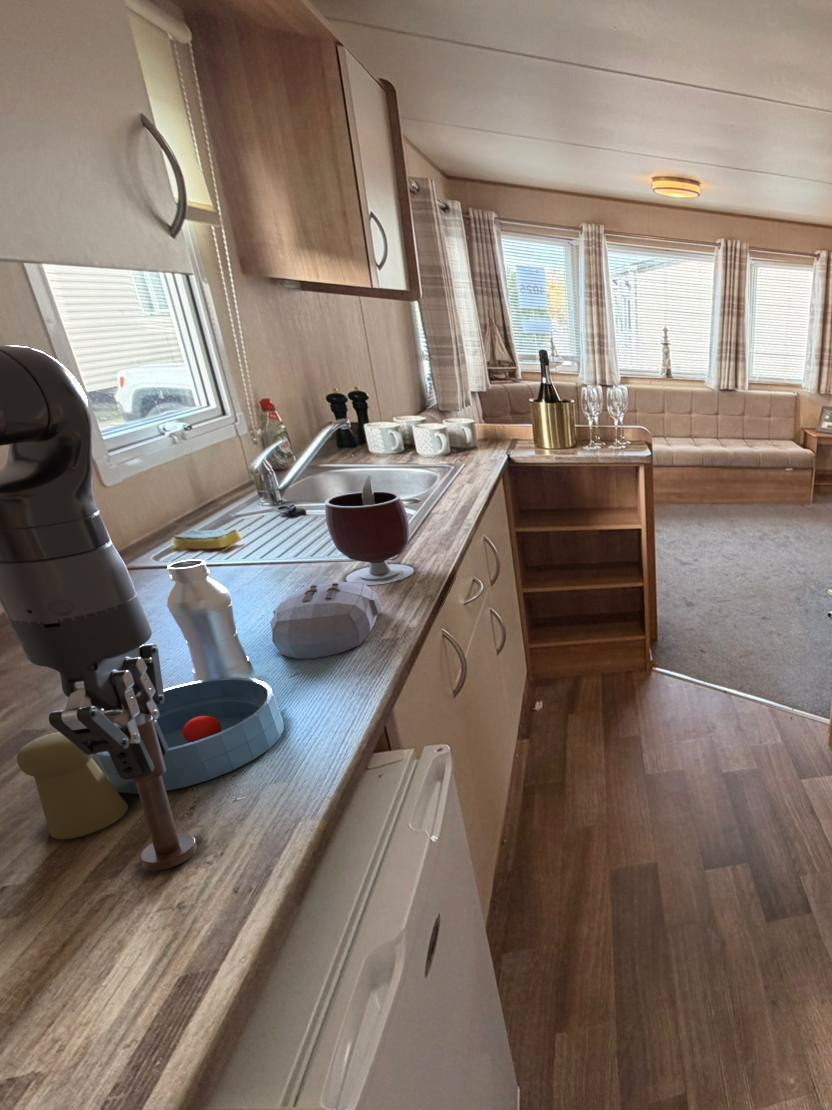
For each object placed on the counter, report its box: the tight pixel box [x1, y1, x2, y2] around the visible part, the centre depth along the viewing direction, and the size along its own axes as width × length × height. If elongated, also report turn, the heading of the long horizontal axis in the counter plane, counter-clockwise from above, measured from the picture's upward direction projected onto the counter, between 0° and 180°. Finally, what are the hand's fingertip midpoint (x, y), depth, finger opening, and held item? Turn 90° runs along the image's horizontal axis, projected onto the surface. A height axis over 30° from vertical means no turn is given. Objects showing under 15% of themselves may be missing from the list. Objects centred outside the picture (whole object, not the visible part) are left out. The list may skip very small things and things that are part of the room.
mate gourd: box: [324, 475, 415, 586], centre depth 132 cm, size 16×14×20 cm
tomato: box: [183, 716, 221, 743], centre depth 81 cm, size 4×4×4 cm
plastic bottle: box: [166, 559, 257, 682], centre depth 89 cm, size 6×7×20 cm
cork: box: [16, 731, 129, 840], centre depth 67 cm, size 6×6×11 cm
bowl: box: [92, 677, 285, 795], centre depth 79 cm, size 17×17×6 cm
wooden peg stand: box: [114, 714, 198, 871], centre depth 61 cm, size 4×4×16 cm
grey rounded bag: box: [269, 581, 381, 660], centre depth 109 cm, size 15×8×20 cm
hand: (146, 764), depth 60 cm, fingers closed on wooden peg stand, 2 cm apart
